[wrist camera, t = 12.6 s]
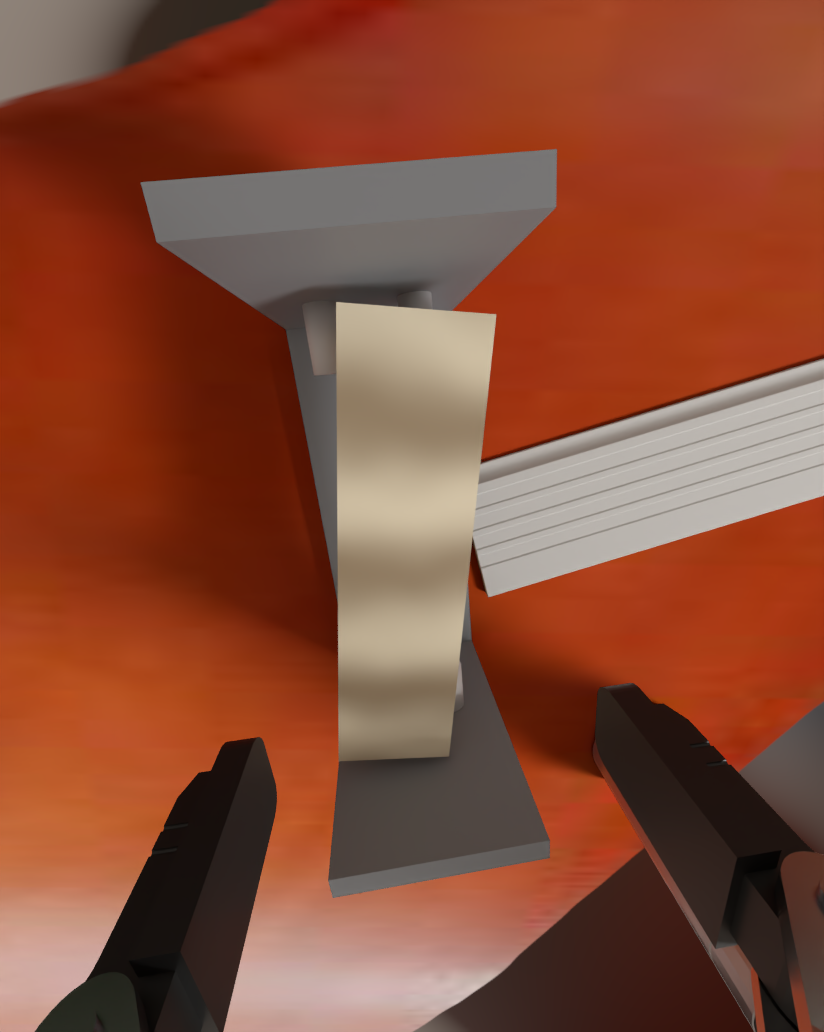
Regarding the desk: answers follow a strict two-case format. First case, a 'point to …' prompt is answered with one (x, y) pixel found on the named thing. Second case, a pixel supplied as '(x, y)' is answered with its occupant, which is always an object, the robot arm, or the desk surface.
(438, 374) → the shelf board
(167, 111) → the desk surface
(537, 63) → the desk surface
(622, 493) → the baseboard
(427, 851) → the shelf frame
